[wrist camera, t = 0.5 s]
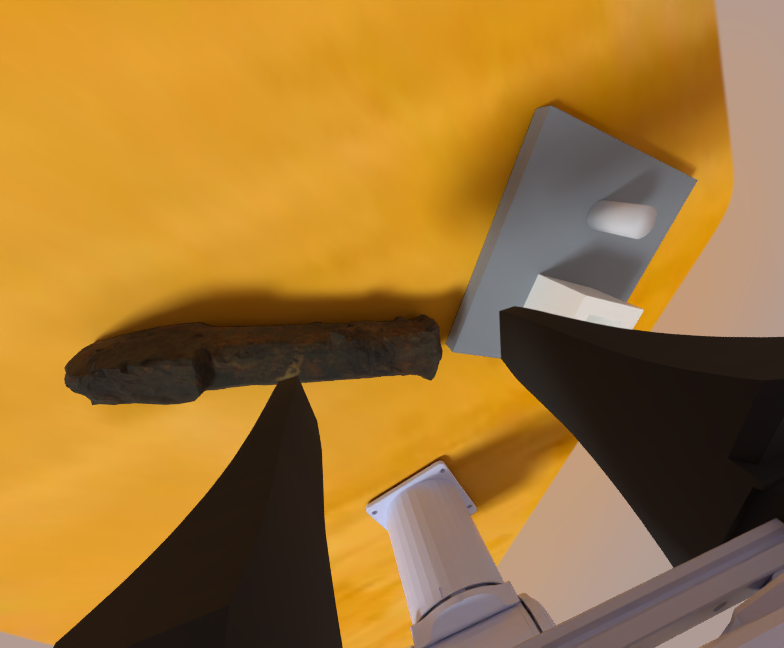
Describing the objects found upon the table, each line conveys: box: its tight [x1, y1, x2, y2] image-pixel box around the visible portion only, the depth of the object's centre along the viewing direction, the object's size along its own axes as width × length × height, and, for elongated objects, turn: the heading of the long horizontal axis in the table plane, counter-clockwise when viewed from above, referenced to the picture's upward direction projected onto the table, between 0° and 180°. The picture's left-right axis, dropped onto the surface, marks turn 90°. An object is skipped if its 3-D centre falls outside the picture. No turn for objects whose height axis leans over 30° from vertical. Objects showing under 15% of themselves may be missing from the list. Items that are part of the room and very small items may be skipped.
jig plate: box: [446, 105, 697, 358], centre depth 21 cm, size 15×13×4 cm
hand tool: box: [65, 315, 442, 405], centre depth 18 cm, size 19×4×5 cm, turn 82°
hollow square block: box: [524, 274, 644, 329], centre depth 21 cm, size 5×5×4 cm
